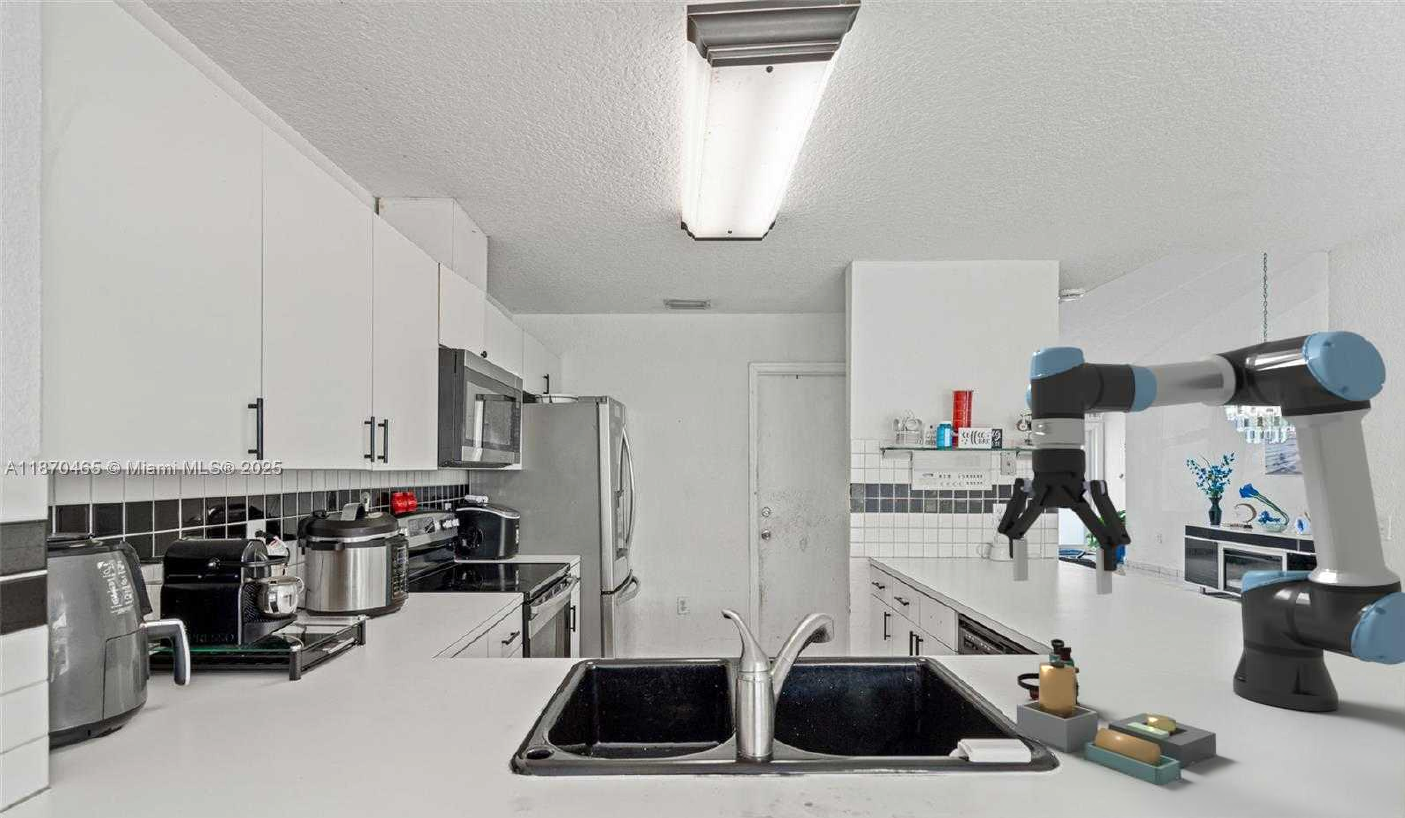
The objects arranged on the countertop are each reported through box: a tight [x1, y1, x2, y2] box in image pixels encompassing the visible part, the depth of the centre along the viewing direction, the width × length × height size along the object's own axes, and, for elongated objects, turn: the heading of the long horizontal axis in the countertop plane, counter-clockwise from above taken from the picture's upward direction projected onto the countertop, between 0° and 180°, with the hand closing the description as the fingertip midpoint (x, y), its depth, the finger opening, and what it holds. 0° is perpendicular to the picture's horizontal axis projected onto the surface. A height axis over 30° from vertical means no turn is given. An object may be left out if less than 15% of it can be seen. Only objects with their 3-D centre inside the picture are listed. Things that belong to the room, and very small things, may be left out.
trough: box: [1083, 727, 1182, 786], centre depth 102 cm, size 6×10×4 cm, turn 32°
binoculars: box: [1016, 638, 1081, 707], centre depth 130 cm, size 9×11×10 cm
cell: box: [1038, 659, 1077, 719], centre depth 113 cm, size 5×5×11 cm
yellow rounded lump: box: [1147, 713, 1177, 737], centre depth 109 cm, size 4×4×2 cm
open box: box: [1016, 700, 1099, 754], centre depth 112 cm, size 8×8×4 cm
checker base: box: [1107, 712, 1217, 769], centre depth 109 cm, size 10×10×4 cm
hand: (1060, 586), depth 114 cm, fingers open, 13 cm apart
